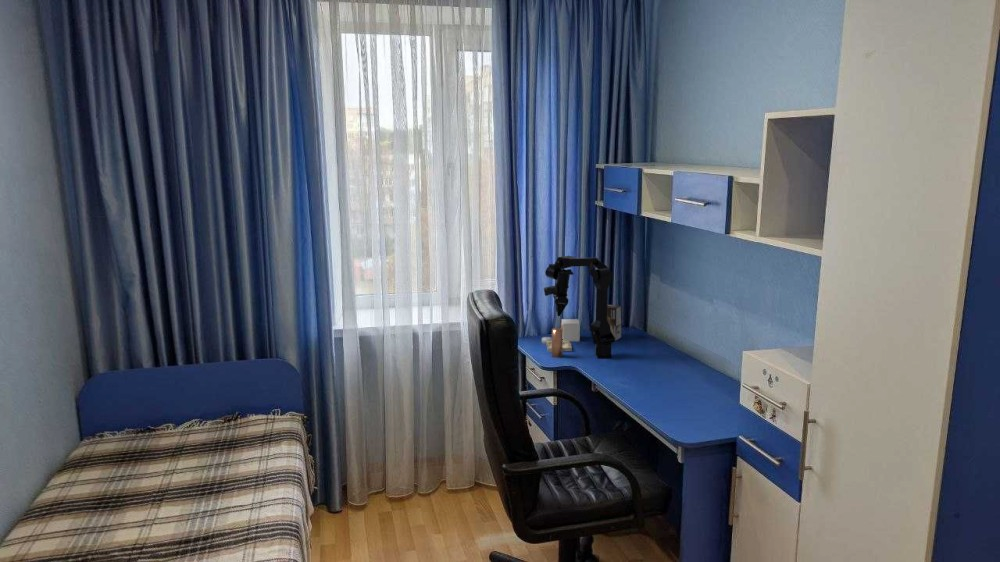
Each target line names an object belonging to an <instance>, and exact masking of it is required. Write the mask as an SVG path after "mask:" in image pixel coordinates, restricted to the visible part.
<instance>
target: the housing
mask: <svg viewBox="0 0 1000 562" xmlns="http://www.w3.org/2000/svg"><path fill="white" fill-rule="evenodd" d="M580 326H581V324H580V321H579V319H578V318H574V319H573V318H571V319H570V318H568V319H565V318H561V323H560V328H561V329H563V338H562V339H563V340H562V341H570V342H581V341H580V338H581V337H580V336H581V335H580V330H581V327H580Z"/></svg>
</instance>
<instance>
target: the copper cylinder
mask: <svg viewBox="0 0 1000 562" xmlns="http://www.w3.org/2000/svg"><path fill="white" fill-rule="evenodd" d="M551 338H552V352H551V357H552V358H555V357H560V358H562V357H563V352H562V341H563V340H562V338H563V329H561V327H554V328H551Z"/></svg>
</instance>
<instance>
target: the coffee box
mask: <svg viewBox="0 0 1000 562" xmlns="http://www.w3.org/2000/svg"><path fill="white" fill-rule="evenodd" d="M607 321H608V323H609V324H610V330H611V332H612V334H613V336H614V337H615V341H618V340H619V339H621V338H622V306H621V305H616V304H610V303H609V304H608V303H607Z"/></svg>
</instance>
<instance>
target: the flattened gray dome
mask: <svg viewBox="0 0 1000 562" xmlns="http://www.w3.org/2000/svg"><path fill="white" fill-rule="evenodd" d="M546 341H552V336H551V337H550V336H543V337H541V344H542V345H546Z"/></svg>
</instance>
